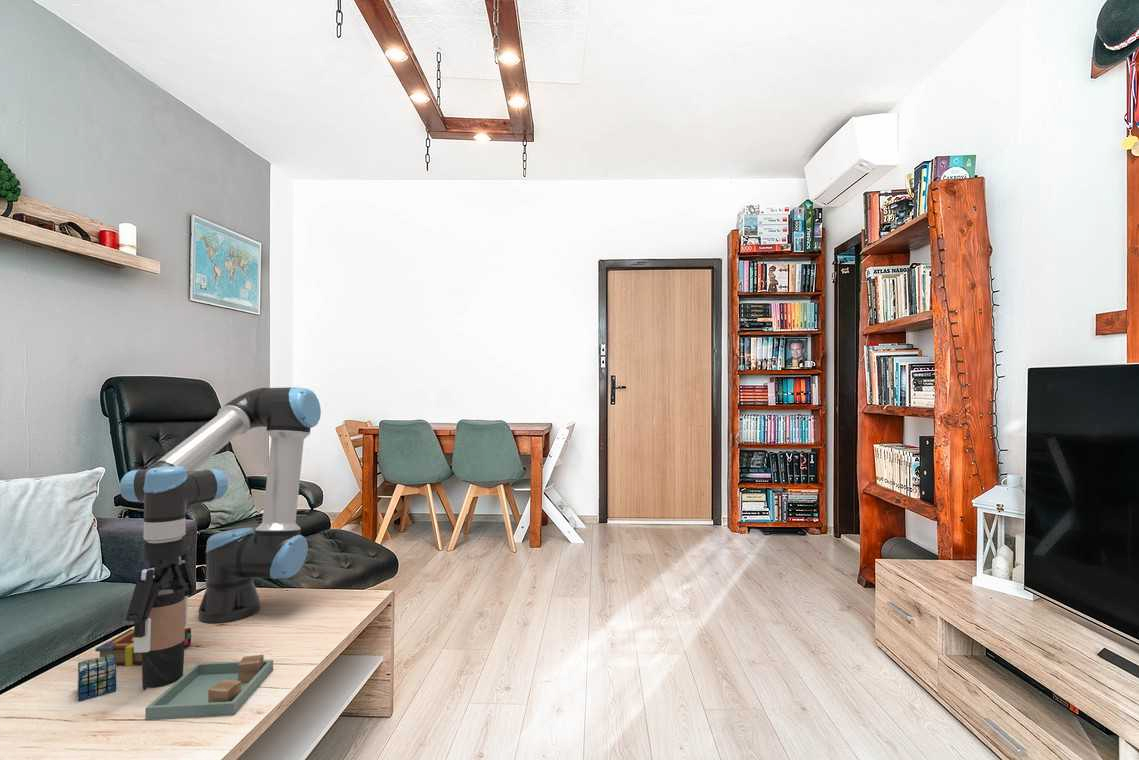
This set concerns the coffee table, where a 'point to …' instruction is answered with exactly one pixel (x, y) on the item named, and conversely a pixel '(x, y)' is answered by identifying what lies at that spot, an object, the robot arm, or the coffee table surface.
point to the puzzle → (96, 677)
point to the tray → (204, 692)
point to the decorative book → (129, 648)
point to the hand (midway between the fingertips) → (162, 638)
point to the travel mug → (165, 639)
